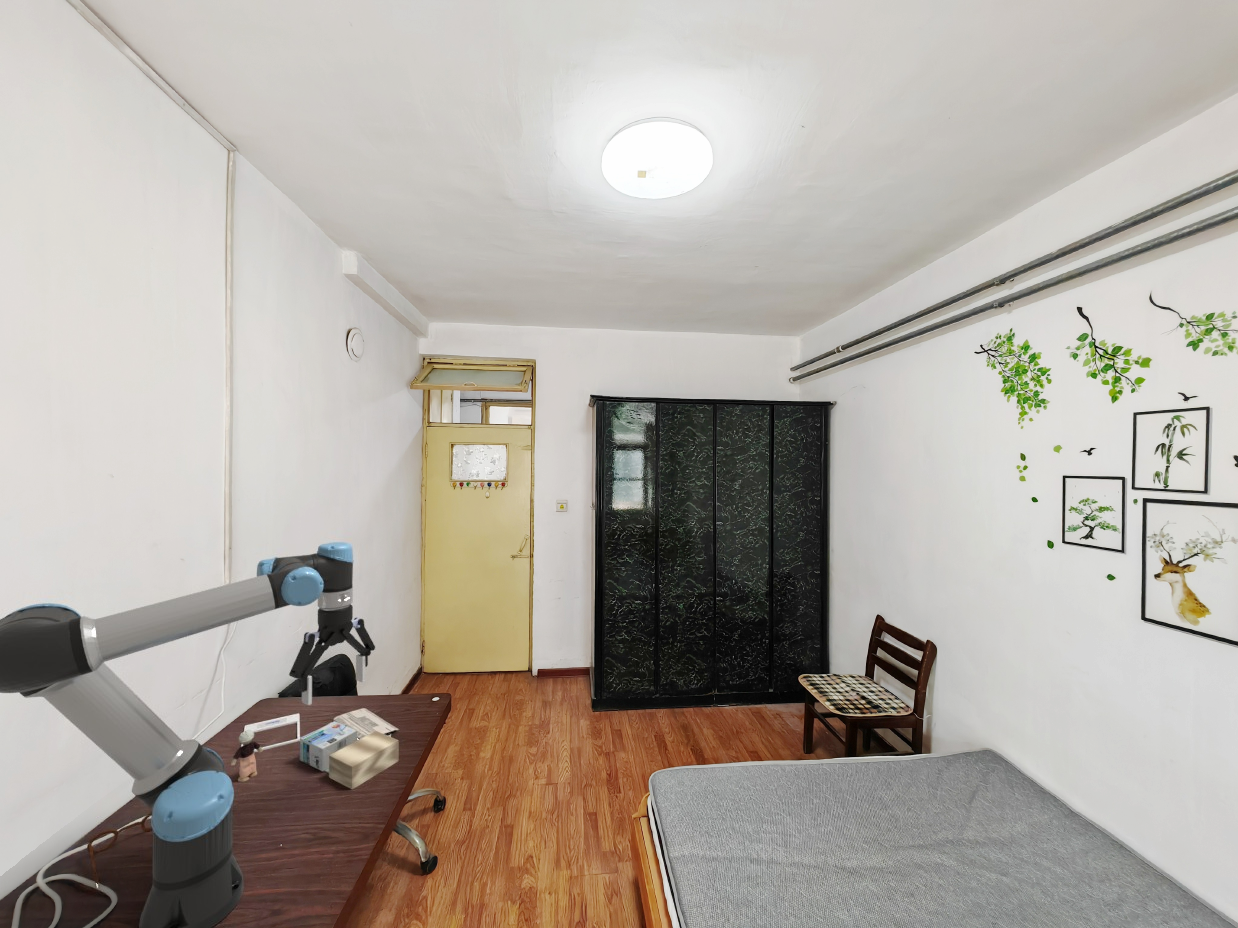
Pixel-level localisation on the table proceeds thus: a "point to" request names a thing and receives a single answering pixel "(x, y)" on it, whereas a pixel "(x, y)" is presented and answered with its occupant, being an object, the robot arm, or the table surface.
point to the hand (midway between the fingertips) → (334, 691)
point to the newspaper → (364, 722)
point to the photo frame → (273, 724)
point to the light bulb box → (325, 744)
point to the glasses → (115, 832)
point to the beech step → (363, 759)
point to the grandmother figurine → (246, 756)
